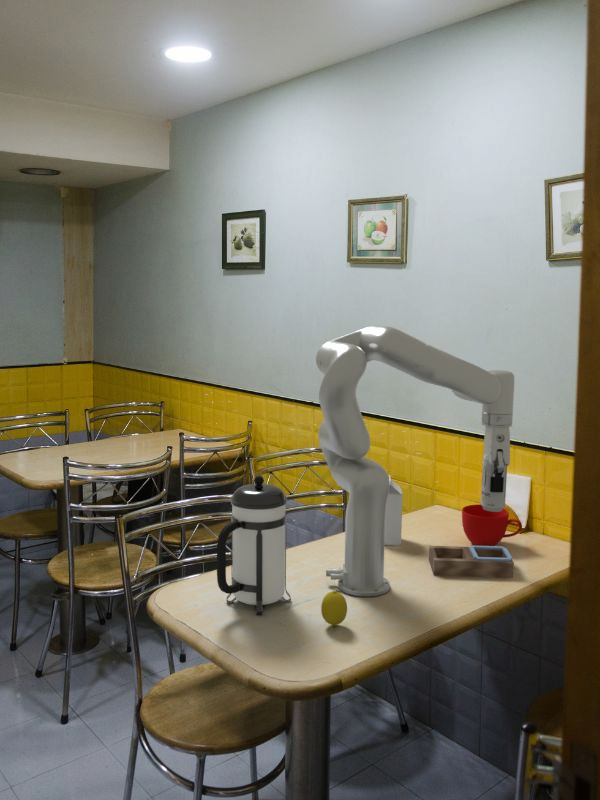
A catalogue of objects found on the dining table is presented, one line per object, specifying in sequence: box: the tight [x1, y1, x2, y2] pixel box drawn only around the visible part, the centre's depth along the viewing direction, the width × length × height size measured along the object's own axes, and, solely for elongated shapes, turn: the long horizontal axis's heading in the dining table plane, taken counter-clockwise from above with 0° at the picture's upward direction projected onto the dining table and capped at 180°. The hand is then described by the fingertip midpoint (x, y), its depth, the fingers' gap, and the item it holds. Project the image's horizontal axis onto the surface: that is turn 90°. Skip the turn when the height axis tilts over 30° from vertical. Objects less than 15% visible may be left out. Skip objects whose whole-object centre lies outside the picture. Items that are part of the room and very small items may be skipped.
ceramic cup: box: [461, 504, 523, 546], centre depth 210 cm, size 13×17×10 cm
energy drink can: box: [480, 454, 508, 512], centre depth 189 cm, size 6×6×15 cm
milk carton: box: [384, 474, 403, 547], centre depth 212 cm, size 7×7×19 cm
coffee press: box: [216, 475, 292, 616], centre depth 167 cm, size 17×16×30 cm
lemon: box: [320, 590, 348, 627], centre depth 158 cm, size 6×6×8 cm
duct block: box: [428, 545, 515, 579], centre depth 192 cm, size 20×11×5 cm, turn 87°
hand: (493, 487), depth 189 cm, fingers closed on energy drink can, 6 cm apart
